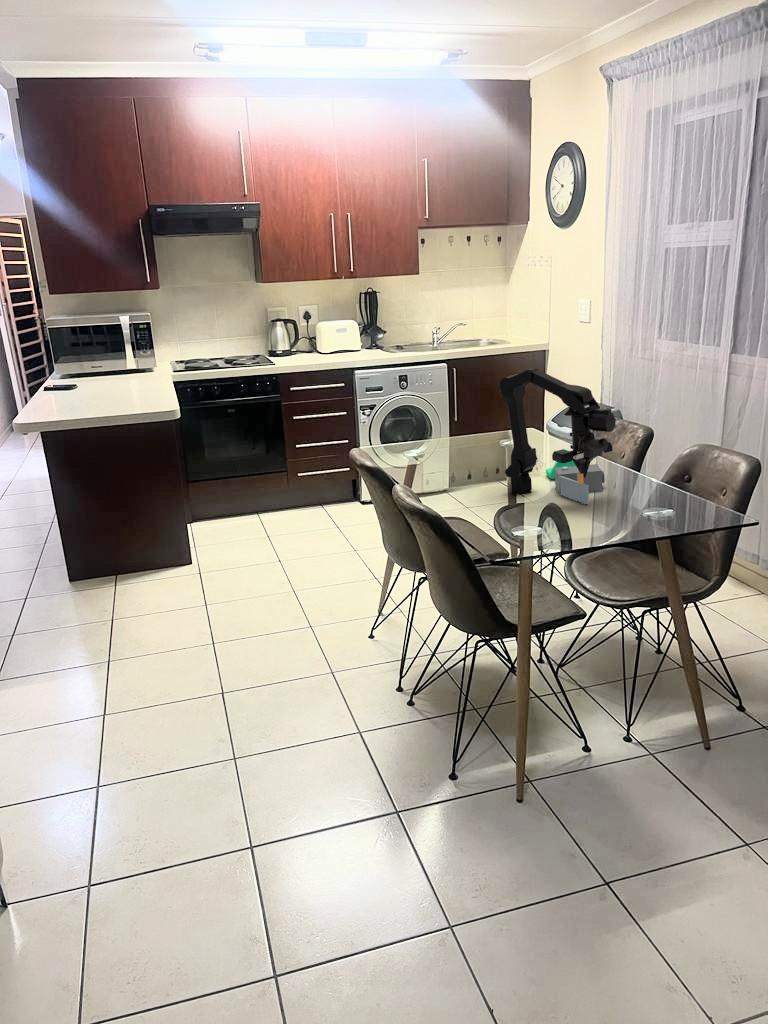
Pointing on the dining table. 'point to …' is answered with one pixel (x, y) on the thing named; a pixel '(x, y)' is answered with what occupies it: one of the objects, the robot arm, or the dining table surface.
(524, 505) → the dining table surface
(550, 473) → the camera mount
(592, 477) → the camera body
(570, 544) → the dining table surface
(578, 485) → the side door
